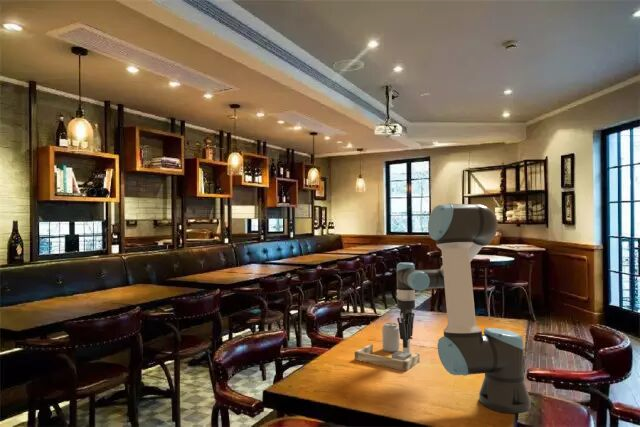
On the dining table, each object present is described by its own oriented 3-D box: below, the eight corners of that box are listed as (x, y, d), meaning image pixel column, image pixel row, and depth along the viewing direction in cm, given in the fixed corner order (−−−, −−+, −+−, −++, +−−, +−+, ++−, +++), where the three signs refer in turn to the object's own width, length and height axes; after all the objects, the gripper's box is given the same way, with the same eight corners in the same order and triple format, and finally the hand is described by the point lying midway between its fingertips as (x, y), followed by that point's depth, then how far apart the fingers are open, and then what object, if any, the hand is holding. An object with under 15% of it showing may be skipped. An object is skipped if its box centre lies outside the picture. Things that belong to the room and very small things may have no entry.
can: (380, 351, 192) (380, 324, 192) (385, 347, 198) (385, 321, 198) (396, 353, 188) (396, 326, 188) (401, 349, 195) (401, 322, 195)
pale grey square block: (405, 367, 171) (405, 357, 172) (391, 364, 175) (391, 354, 175) (411, 363, 176) (411, 353, 176) (398, 360, 180) (398, 350, 180)
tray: (406, 371, 166) (406, 362, 166) (354, 360, 180) (354, 351, 180) (419, 362, 177) (419, 353, 177) (369, 352, 190) (369, 344, 190)
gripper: (404, 295, 189) (404, 349, 189) (391, 300, 178) (391, 357, 178) (420, 297, 184) (420, 352, 184) (407, 302, 174) (408, 360, 174)
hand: (406, 354), depth 181 cm, fingers closed
